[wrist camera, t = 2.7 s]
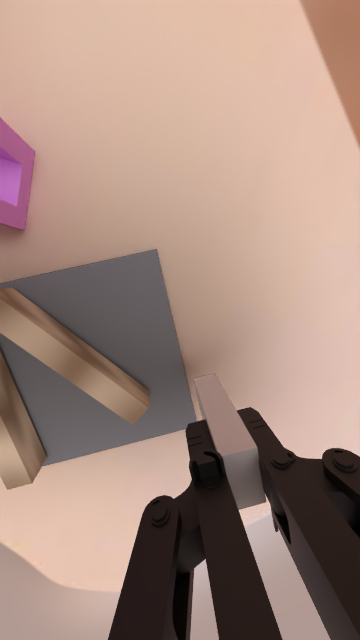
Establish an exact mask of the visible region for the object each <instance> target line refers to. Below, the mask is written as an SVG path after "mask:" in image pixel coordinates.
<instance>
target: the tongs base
mask: <svg viewBox="0 0 360 640" xmlns="http://www.w3.org/2000/svg"><path fill="white" fill-rule="evenodd" d="M46 459H47V457H46V455H45V452H44V450H43V448H42V445H41V443H40V441H39V439H38V436H37V434H36V432H35V429H34V427H33V425H32V422H31V420H30V418H29V416H28V413H27V411H26V409H25V406H24V404H23V402H22V399H21V397H20V395H19V393H18V390H17V388H16V386H15V383H14V381H13V379H12V377H11V374H10V372H9V370H8V367H7V365H6V363H5V360H4V358H3V356H2V354H1V351H0V476H1V478H2V480H3V482H4V484H5V486H6V488H7V490H8V489H12V488H16V487H19V486H23V485H27V484H31V483H32V482H33V481H34V479H35V477H36V476H37V474H38V472H39V471H40V469H41V467H42V466H43V464H44V462H45V461H46Z"/></svg>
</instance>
